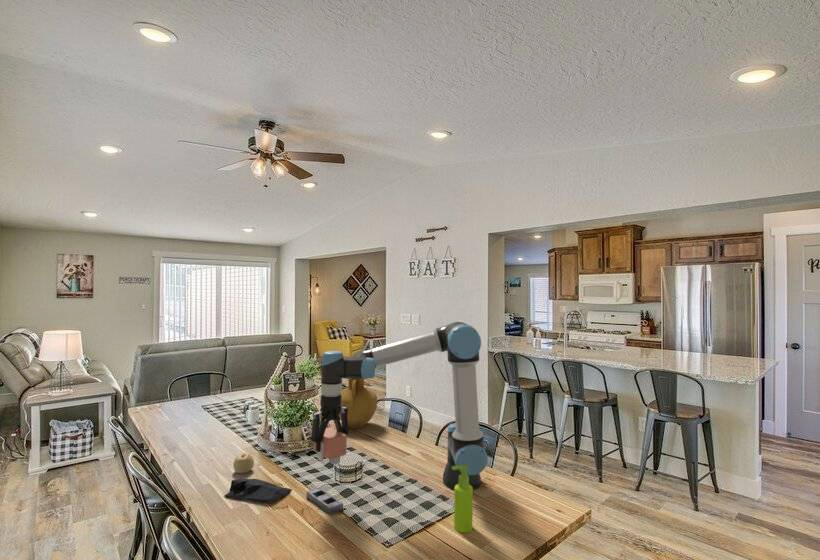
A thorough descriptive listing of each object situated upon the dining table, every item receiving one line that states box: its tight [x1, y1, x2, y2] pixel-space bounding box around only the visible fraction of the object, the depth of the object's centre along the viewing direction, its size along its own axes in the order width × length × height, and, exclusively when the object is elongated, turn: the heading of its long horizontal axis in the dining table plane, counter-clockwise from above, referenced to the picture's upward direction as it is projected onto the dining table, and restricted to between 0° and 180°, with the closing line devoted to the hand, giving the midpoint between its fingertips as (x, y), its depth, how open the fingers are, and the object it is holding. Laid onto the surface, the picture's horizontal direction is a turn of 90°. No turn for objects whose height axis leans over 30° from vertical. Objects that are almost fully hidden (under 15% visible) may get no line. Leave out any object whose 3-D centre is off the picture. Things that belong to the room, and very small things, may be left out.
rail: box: [306, 486, 344, 515], centre depth 156 cm, size 16×5×2 cm, turn 43°
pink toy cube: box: [313, 426, 348, 465], centre depth 158 cm, size 11×7×10 cm, turn 42°
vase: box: [339, 378, 378, 429], centre depth 240 cm, size 24×24×30 cm
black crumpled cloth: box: [224, 477, 292, 504], centre depth 162 cm, size 15×22×5 cm
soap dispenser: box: [452, 465, 474, 534], centre depth 141 cm, size 6×7×20 cm
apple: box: [233, 452, 255, 474], centre depth 181 cm, size 8×8×8 cm
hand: (329, 457), depth 157 cm, fingers closed on pink toy cube, 7 cm apart
